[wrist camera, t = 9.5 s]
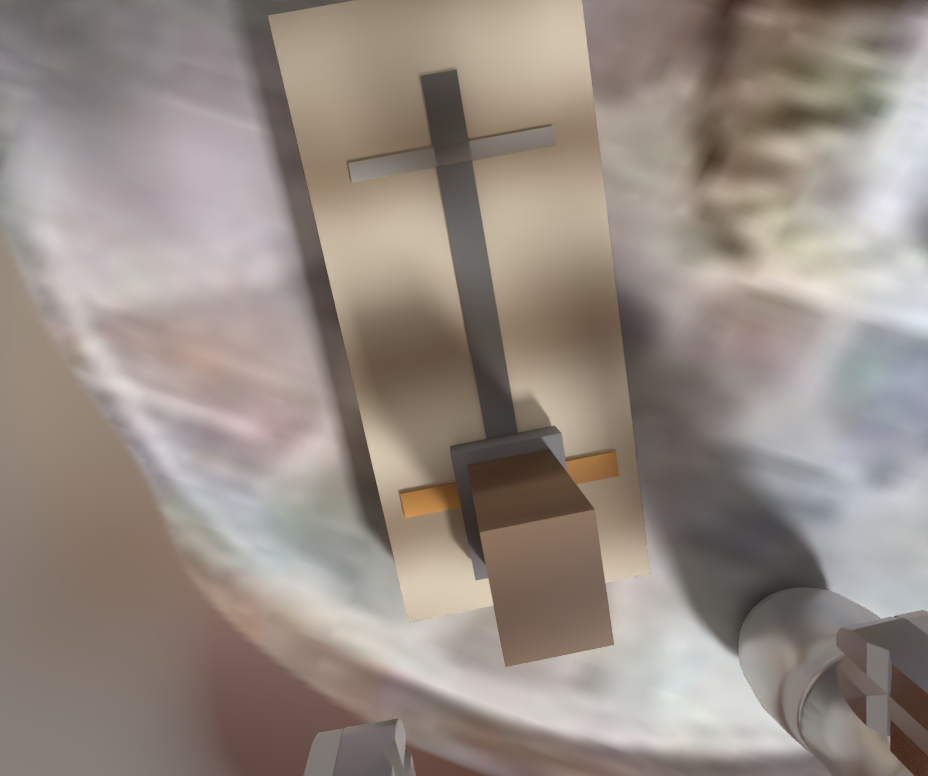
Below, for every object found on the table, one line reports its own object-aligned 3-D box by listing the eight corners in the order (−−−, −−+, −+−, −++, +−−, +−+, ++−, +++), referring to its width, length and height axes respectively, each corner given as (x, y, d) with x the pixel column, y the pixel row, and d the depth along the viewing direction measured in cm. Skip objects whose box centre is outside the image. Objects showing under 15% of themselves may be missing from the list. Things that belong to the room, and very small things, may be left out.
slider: (449, 445, 18) (456, 518, 12) (554, 425, 18) (611, 487, 12) (473, 565, 19) (490, 686, 13) (573, 545, 19) (633, 657, 13)
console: (294, 60, 18) (266, 13, 15) (554, 15, 19) (578, -41, 15) (412, 579, 23) (408, 624, 19) (622, 537, 23) (651, 575, 20)
